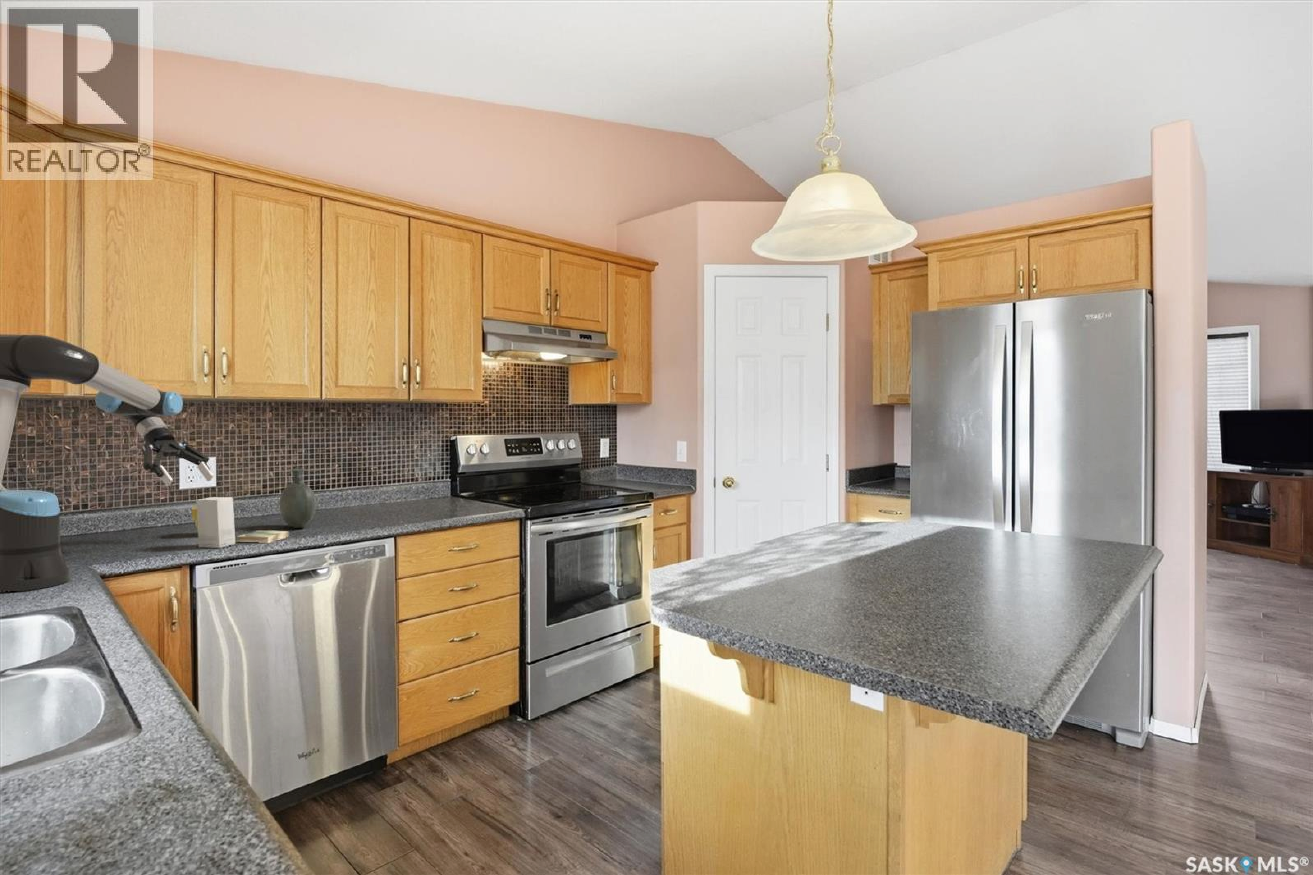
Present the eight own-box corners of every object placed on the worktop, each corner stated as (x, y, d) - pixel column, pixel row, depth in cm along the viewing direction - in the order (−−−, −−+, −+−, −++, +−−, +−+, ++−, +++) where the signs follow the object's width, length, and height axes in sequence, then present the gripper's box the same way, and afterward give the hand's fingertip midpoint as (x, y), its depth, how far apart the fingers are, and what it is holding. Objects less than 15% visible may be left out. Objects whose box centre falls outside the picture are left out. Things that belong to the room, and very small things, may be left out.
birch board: (267, 543, 215) (267, 536, 215) (235, 542, 216) (235, 536, 216) (288, 536, 226) (288, 530, 226) (258, 536, 227) (258, 530, 227)
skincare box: (235, 544, 213) (234, 497, 212) (218, 548, 206) (217, 499, 206) (214, 543, 215) (213, 496, 214) (196, 547, 208) (195, 498, 208)
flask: (282, 532, 234) (281, 471, 233) (278, 525, 248) (277, 467, 247) (318, 529, 240) (317, 469, 239) (313, 522, 254) (312, 466, 254)
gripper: (187, 439, 230) (220, 484, 226) (109, 443, 206) (145, 493, 202) (198, 424, 228) (232, 469, 224) (120, 427, 204) (157, 477, 201)
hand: (191, 480), depth 213 cm, fingers open, 13 cm apart
